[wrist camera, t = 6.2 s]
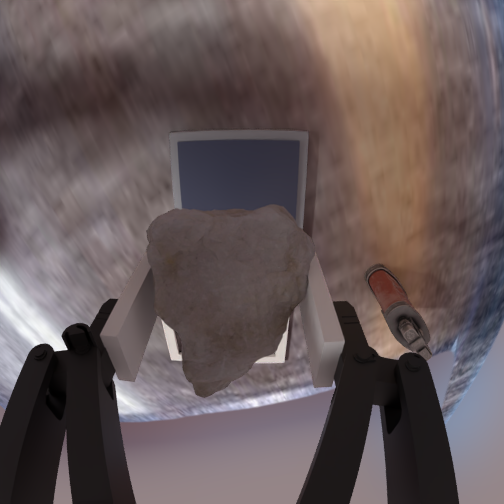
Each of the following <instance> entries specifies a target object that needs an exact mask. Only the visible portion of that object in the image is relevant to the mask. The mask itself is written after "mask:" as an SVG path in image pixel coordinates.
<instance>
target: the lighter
mask: <svg viewBox="0 0 504 504" xmlns="http://www.w3.org/2000/svg"><path fill="white" fill-rule="evenodd" d="M365 280H366V282H367V284H368V286H369V288H370V290H371V292H372V293H373V295H374V296H375V298H376V299H377V300H378V302H379V304H380V306H381V308H382V310H381V311H382V314H383V316H384V318H385V320H386V322H387V324H388V326H389V329H390V331H391V332H392V334H393V335H394V337H395V338H396V340H397V341H398V342H400V343H401V344H402V345H403V346H404V347H406V348H408V349H409V350H411V351H412V352H413V351H416V352H417V354H419V355H421V356H422V357H423V358H424V359H425V360H426V361H427V360H429V359H430V358H431V357H432V352H431V351H430V349H429V347H428V345H427V344H428V342H429V341H430V334H429V331H428V328H427V326H426V324H425V322H424V320H423V319H422V317H421V315H420V314H419V313H418V312H417V311H416V310H415V309H414V307H413V306H412V304H411V302H410V301H409V299H408V297H407V294H406V292H405V290H404V288H403V286H402V285H401V283H400V282H399V280H398V279H397V278H396V276H395V275H394V274H393V273H392V272H391V271H390V270H388V269H387V268H386V267H385V266H383V265H381V264H376V265H373V266H371V267H370V268H369V269H368V270H367V271H366V273H365Z"/></svg>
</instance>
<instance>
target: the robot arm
mask: <svg viewBox="0 0 504 504" xmlns="http://www.w3.org/2000/svg"><path fill="white" fill-rule="evenodd" d="M307 280H308V284H307V286H306V294H305V297H304V299H303V300H302V302H300V303H299V306H300V311H301V317H302V322H303V327H304V333H305V339H306V344H307V350H308V356H309V361H310V367H311V373H312V379H313V385H314V388H317V387H332V384H333V381H335V385H336V388H335V392H334V394H333V397H332V400H331V405H330V409H329V412H328V415H327V418H326V422H325V425H324V428H323V431H322V434H321V437H320V440H319V443H318V446H317V449H316V452H315V455H314V458H313V461H312V464H311V466H310V469H309V472H308V475H307V477H306V480H305V483H304V485H303V488H302V490H301V493H300V495H299V498H298V500H297V503H296V504H349V503H350V499H351V496H352V493H353V489H354V486H355V482H356V478H357V475H358V471H359V467H360V462H361V459H362V454H363V450H364V445H365V441H366V436H367V431H368V427H369V421H370V416H371V411H372V405H379V406H380V414H381V423H382V432H383V441H384V451H385V463H386V479H387V497H388V504H459V499H458V492H457V485H456V479H455V473H454V467H453V461H452V456H451V452H450V447H449V442H448V437H447V432H446V428H445V424H444V420H443V416H442V412H441V408H440V404H439V400H438V397H437V393H436V389H435V386H434V382H433V379H432V376H431V372H430V369H429V366H428V363H427V362H426V360H425V359H424V358H423V357H422V356H421V355H419V354H416V353H411V352H409V353H404V354H403V355H401V356H400V358H399V360H394V359H388V358H384V357H380V356H379V355H378V353H377V352H376V350H374V349H373V348H371V347H369V346H368V343H367V340H366V338H365V335H364V332H363V330H362V327H361V325H360V323H359V319H358V317H357V314H356V312H355V309H354V307H353V306H352V305H350V304H349V303H348V302H347V301H337V302H332V299H331V296H330V293H329V290H328V287H327V284H326V281H325V278H324V275H323V272H322V269H321V266H320V263H319V260H318V258H317V255H316V252H315V256H314V257H313V259H312V261H311V263H310V270H309V273H308V275H307ZM154 301H155V291H154V283H153V272H152V268H151V266H150V264H149V263H148V258H147V251H146V252H145V253H144V255H143V257H142V259H141V260H140V262H139V264H138V265H137V267H136V269H135V271H134V272H133V274H132V276H131V278H130V279H129V281H128V283H127V285H126V287H125V288H124V290H123V292H122V294H121V296H120V297H119V299H109V300H108V301H107V302H105V303H104V304H103V305H102V307H101V308H100V310H99V312H98V314H97V315H96V317H95V319H94V321H93V322H92V324H91V326H90V327H89V326H88V325H87V324H83V323H76V324H73V325H71V326H69V327H67V328H66V329H65V330H64V332H63V334H62V338H63V340H64V343H65V345H66V347H67V349H68V350H64V351H56V352H54V350H53V348H52V347H51V346H50V345H49V344H39V345H37V346H35V347H34V348H33V349H31V351H30V352H29V354H28V356H27V359H26V361H25V363H24V365H23V368H22V370H21V372H20V375H19V377H18V379H17V382H16V384H15V387H14V389H13V392H12V395H11V397H10V400H9V402H8V405H7V408H6V411H5V413H4V417H3V419H2V422H1V425H0V504H53V500H54V493H55V486H56V479H57V473H58V467H59V461H60V456H61V451H62V446H63V441H64V436H65V431H66V430H67V453H68V466H69V477H70V486H71V494H72V502H73V504H136V501H135V497H134V494H133V490H132V485H131V481H130V476H129V471H128V467H127V462H126V457H125V451H124V447H123V440H122V434H121V429H120V421H119V414H118V407H117V398H116V390H115V384H114V381H113V376H114V374H115V372H116V375H117V377H118V379H119V380H124V381H132V382H135V379H136V376H137V373H138V370H139V367H140V364H141V361H142V358H143V355H144V352H145V349H146V346H147V343H148V340H149V338H150V335H151V332H152V329H153V326H154V323H155V321H156V318H157V314H156V313H155V309H154Z"/></svg>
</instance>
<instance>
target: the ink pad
mask: <svg viewBox="0 0 504 504" xmlns="http://www.w3.org/2000/svg"><path fill="white" fill-rule="evenodd" d="M308 136H309V132H308V131H305V130H281V129H216V130H191V131H175V132H170V133H169V142H170V158H171V172H172V184H173V196H174V207H175V209H176V208H178V209H180V210H181V209H183V208H184V209H189V210H191V209H195V210H201V211H212V210H214V209H215V210H228V209H244V210H248V211H251V210H256V209H259V208H261V207H265V206H267V205H272V204H274V205H279V206H283V207H284V208H285V209H286V210H287V211H288V212H289V213H290V214H291V215H292V216H293V218H294V219H295V221H296V224H297V226H298V227H300V228H302V230H303V219H304V206H305V191H306V175H307V157H308Z"/></svg>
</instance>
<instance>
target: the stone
mask: <svg viewBox="0 0 504 504" xmlns="http://www.w3.org/2000/svg"><path fill="white" fill-rule="evenodd" d="M146 232H147V238H148V241H149V245H148V247H147V249H146V251H147V258H148V263H149V264H150V266H151V268H152V272H153V283H154V291H155V301H154V309H155V313H156V314H157V315H158V316H159V317H160V318H161V319H162V320H163V321H164V323H165V324H166V325H167V326H168V327H170V328H171V329H173V330H174V331H176V332H177V334H178V335H179V337H180V339H181V342H182V347H181V349H182V350H181V352H182V365H183V371H184V374H185V376H186V379H187V380H188V381H189V382H191V383H192V384H193V387H194V390H195V393H196V395H198V396H200V397H204V398H205V397H208V396H210V395H212V394H214V393H215V392H217V391H220V390H223V389H224V388H226V387H228V385H229V384H230V383H231V381H234V380H236V379H238V378H240V377H242V376H243V375H244V374H245V373H247V372H248V370H250V369H251V368H252V366H253V364H254V363H255V362H256V361H257V360H259V359H261V358H263V357H266V356H269V355H272V354H273V353H274V352H276V351H277V349H278V346H279V344H280V342H281V340H282V338H283V334H284V333H285V332H286V329H287V324H288V320H289V316H290V314H291V312H292V311H293V309H294V308H295V307H296V306H297V305H298V304H299V303H300V302H302V300H303V299H304V297H305V294H306V286H307V284H308V280H307V275H308V273H309V270H310V263H311V261H312V259H313V257H314V256H315V245H314V243H313V241H312V239H311V237H310V236H309V235H307V234H306V233H305V232H304V231H303V230H302V228H300V227H298V226H297V224H296V221H295V219H294V218H293V216H292V215H291V214H290V213H289V212H288V211H287V210H286V209H285V208H284V207H283V206H279V205H274V204H272V205H267V206H265V207H261V208H259V209H256V210H251V211H248V210H244V209H228V210H215V209H214V210H212V211H201V210H195V209H191V210H189V209H184V208H183V209H181V210H180V209H178V208H176V209H173V210H171V211H168V212H167V213H165V214H163V215H160V216H158V217H157V218H156V219H155V220H154V221H153V222H152V223H151V225H150V226H149V228H148V230H147V231H146Z"/></svg>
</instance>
